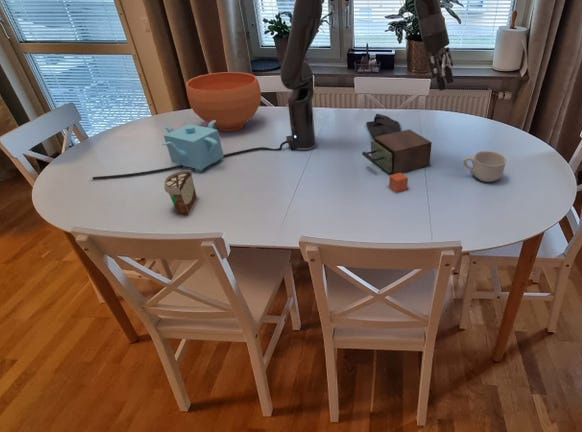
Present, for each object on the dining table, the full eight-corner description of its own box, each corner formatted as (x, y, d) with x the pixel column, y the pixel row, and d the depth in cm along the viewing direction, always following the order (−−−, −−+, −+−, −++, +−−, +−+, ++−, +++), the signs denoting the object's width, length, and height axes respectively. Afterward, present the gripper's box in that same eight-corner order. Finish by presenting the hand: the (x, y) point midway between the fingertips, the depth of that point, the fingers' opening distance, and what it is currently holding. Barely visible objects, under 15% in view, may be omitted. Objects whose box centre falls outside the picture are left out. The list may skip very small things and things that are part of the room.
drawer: (375, 176, 137) (376, 157, 133) (358, 162, 146) (358, 143, 142) (422, 164, 145) (424, 145, 141) (403, 151, 154) (404, 133, 150)
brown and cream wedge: (179, 197, 127) (170, 169, 122) (198, 196, 128) (190, 168, 122) (166, 218, 117) (156, 189, 112) (187, 217, 118) (178, 188, 112)
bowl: (270, 114, 191) (264, 71, 180) (257, 139, 167) (249, 90, 155) (208, 115, 191) (198, 71, 179) (186, 139, 166) (173, 91, 155)
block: (396, 192, 130) (396, 180, 127) (389, 186, 133) (389, 175, 130) (407, 189, 132) (407, 177, 129) (400, 183, 135) (400, 172, 132)
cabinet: (393, 175, 140) (394, 151, 135) (373, 159, 150) (374, 137, 145) (429, 165, 146) (431, 142, 141) (408, 151, 156) (409, 129, 151)
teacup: (502, 173, 141) (507, 153, 136) (501, 187, 132) (505, 166, 128) (463, 167, 145) (466, 147, 140) (459, 181, 136) (462, 160, 132)
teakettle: (226, 170, 143) (217, 132, 135) (170, 179, 137) (158, 140, 129) (223, 150, 158) (215, 114, 149) (172, 157, 152) (161, 120, 144)
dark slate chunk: (367, 142, 164) (367, 131, 161) (366, 122, 182) (366, 113, 180) (404, 141, 164) (404, 130, 162) (398, 122, 183) (399, 112, 180)
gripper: (429, 32, 123) (442, 83, 130) (413, 39, 113) (428, 95, 119) (452, 24, 119) (464, 77, 126) (438, 31, 109) (452, 89, 115)
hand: (446, 86), depth 122 cm, fingers open, 8 cm apart
